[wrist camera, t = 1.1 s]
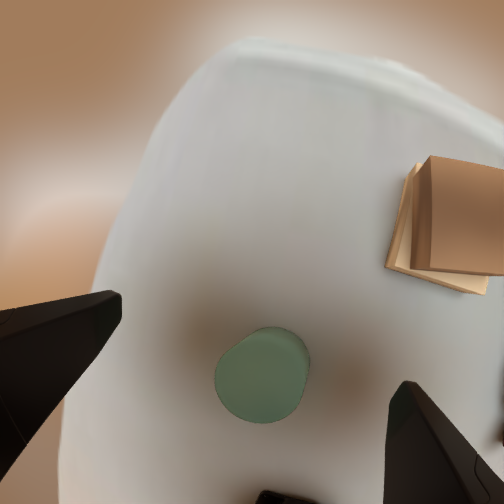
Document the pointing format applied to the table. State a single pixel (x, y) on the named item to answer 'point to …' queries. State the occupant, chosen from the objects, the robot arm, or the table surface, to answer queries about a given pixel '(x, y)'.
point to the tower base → (402, 249)
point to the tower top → (458, 218)
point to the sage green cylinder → (263, 375)
